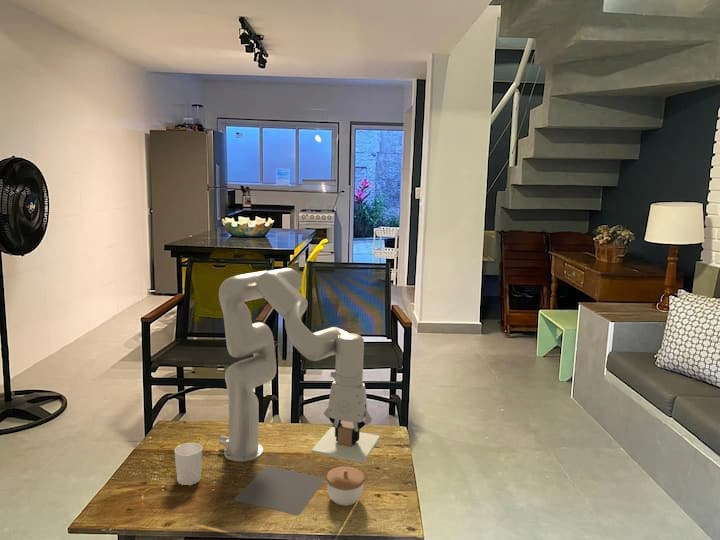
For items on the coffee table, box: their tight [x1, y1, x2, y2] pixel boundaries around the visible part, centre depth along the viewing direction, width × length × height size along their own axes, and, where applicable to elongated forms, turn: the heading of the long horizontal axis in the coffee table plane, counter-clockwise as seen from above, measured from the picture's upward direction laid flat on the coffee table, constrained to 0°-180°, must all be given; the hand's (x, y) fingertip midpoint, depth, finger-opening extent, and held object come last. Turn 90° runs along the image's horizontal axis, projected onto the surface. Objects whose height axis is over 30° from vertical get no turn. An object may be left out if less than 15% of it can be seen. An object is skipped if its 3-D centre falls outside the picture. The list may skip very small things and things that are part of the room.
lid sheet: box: [311, 421, 381, 464], centre depth 158 cm, size 15×15×6 cm
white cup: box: [174, 442, 203, 486], centre depth 168 cm, size 8×8×10 cm
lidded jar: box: [326, 465, 365, 507], centre depth 161 cm, size 11×11×9 cm
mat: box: [233, 465, 327, 517], centre depth 166 cm, size 20×20×1 cm
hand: (346, 440), depth 158 cm, fingers closed on lid sheet, 4 cm apart
